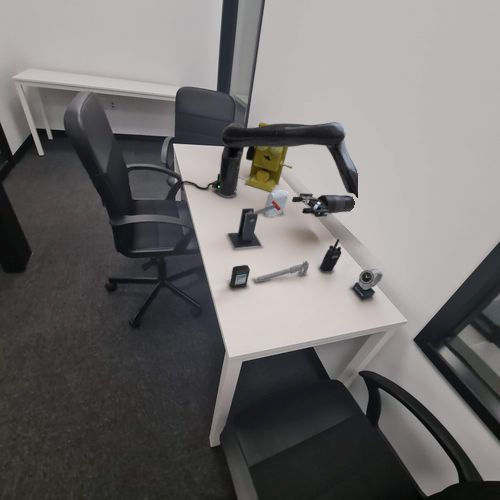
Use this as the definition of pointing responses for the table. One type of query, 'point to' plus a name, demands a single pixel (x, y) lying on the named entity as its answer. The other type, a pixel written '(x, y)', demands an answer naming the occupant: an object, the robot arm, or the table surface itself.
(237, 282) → the ink cartridge
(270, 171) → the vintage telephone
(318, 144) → the robot arm
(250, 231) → the stand
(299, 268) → the caliper
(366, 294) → the watch
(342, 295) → the table surface
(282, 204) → the photo printer
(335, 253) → the two-way radio
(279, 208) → the lever
